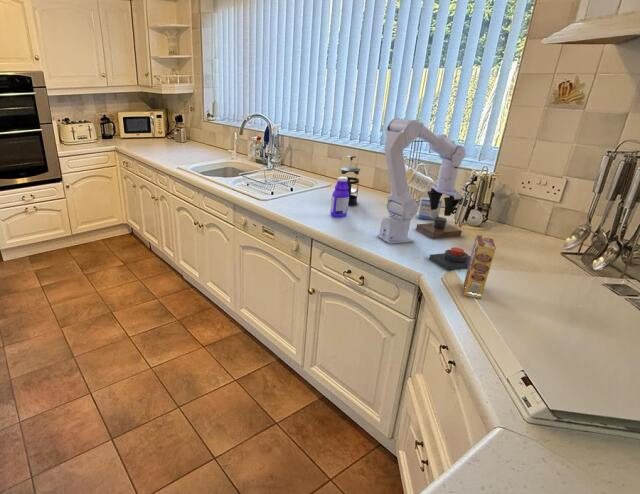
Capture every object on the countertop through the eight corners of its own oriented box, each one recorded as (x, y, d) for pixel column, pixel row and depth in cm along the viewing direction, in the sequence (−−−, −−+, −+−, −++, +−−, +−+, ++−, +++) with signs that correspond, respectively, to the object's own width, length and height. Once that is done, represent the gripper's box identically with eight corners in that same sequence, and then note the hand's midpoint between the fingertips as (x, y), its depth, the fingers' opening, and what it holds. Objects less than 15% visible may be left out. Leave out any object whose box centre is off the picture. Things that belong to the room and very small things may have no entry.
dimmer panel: (432, 239, 148) (433, 232, 147) (415, 230, 157) (416, 223, 156) (460, 236, 150) (462, 230, 149) (442, 227, 159) (443, 221, 158)
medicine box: (417, 218, 170) (421, 199, 166) (417, 215, 173) (420, 196, 170) (438, 220, 167) (442, 201, 164) (437, 217, 171) (441, 198, 167)
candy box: (482, 299, 107) (496, 248, 101) (464, 296, 109) (476, 245, 103) (480, 285, 114) (493, 237, 108) (463, 282, 116) (475, 234, 110)
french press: (357, 206, 186) (363, 158, 178) (337, 205, 188) (341, 157, 180) (355, 200, 197) (361, 153, 188) (336, 199, 199) (340, 153, 190)
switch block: (447, 270, 123) (450, 260, 122) (428, 259, 131) (430, 249, 130) (481, 267, 125) (483, 257, 124) (460, 256, 133) (462, 246, 132)
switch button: (455, 257, 125) (456, 252, 125) (447, 252, 128) (448, 247, 128) (465, 256, 126) (466, 251, 125) (457, 251, 129) (458, 246, 128)
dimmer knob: (447, 228, 151) (449, 219, 149) (437, 229, 150) (439, 219, 149) (440, 225, 154) (441, 215, 153) (430, 225, 154) (432, 216, 152)
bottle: (341, 213, 178) (345, 175, 171) (349, 217, 173) (353, 178, 166) (327, 215, 176) (331, 176, 169) (335, 219, 171) (338, 179, 164)
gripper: (471, 181, 139) (463, 217, 144) (443, 172, 153) (436, 206, 158) (454, 182, 138) (446, 218, 143) (427, 173, 151) (421, 207, 157)
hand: (440, 212), depth 150 cm, fingers open, 7 cm apart
